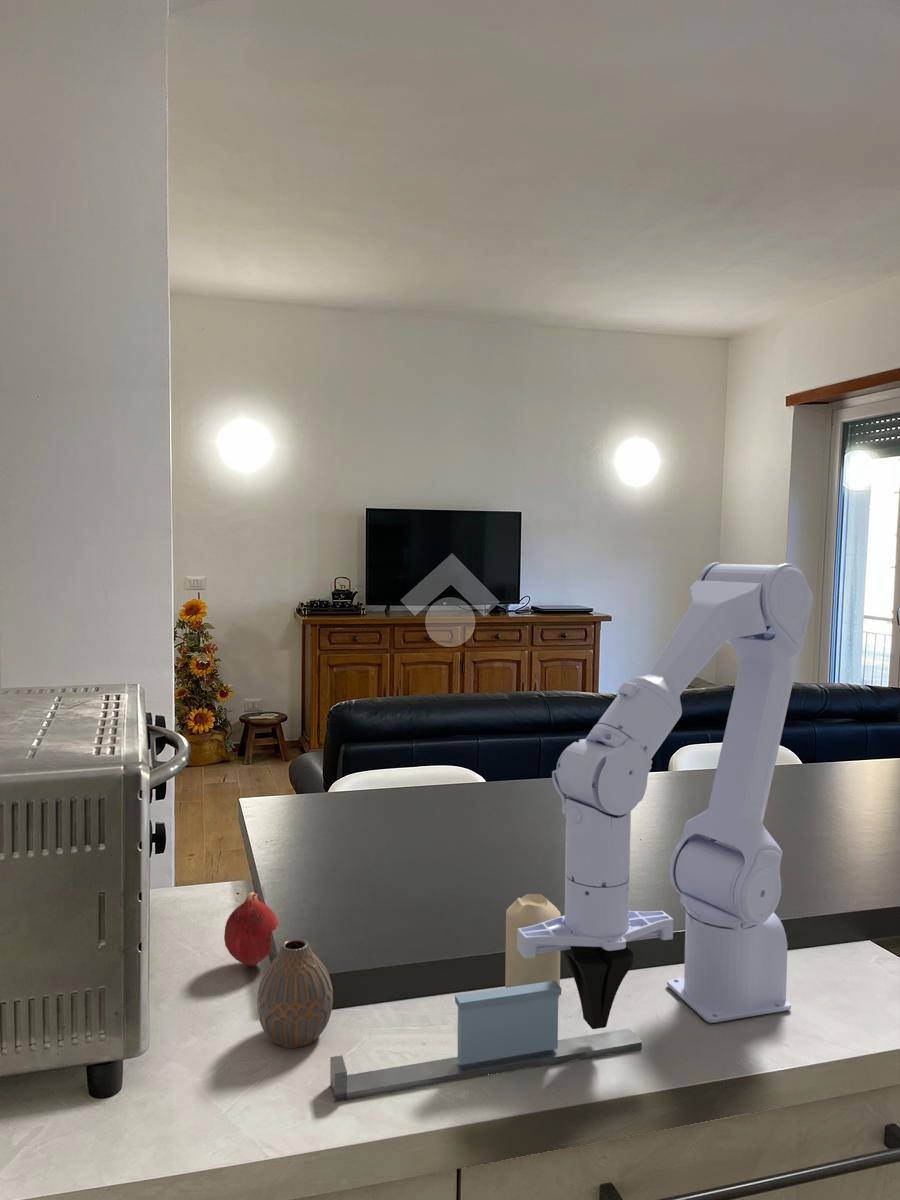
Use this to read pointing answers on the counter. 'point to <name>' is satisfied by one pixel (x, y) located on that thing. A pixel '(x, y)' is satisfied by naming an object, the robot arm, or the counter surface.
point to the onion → (250, 931)
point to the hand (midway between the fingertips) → (594, 1022)
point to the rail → (472, 1066)
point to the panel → (507, 1021)
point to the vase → (295, 996)
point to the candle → (544, 964)
